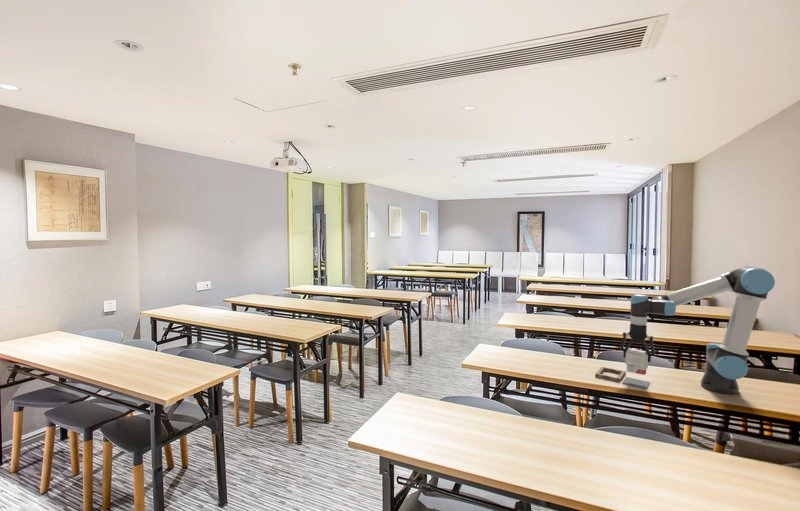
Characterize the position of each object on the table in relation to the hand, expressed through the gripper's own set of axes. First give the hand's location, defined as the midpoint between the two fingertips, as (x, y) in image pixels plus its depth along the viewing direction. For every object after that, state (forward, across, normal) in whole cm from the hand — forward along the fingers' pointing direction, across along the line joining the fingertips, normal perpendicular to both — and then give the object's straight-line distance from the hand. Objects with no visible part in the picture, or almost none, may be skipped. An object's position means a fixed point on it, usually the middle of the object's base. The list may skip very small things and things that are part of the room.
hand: (636, 365), depth 204 cm
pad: (+9, 0, 0) cm, 9 cm away
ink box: (+4, 0, 0) cm, 4 cm away
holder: (+10, +13, -4) cm, 16 cm away
